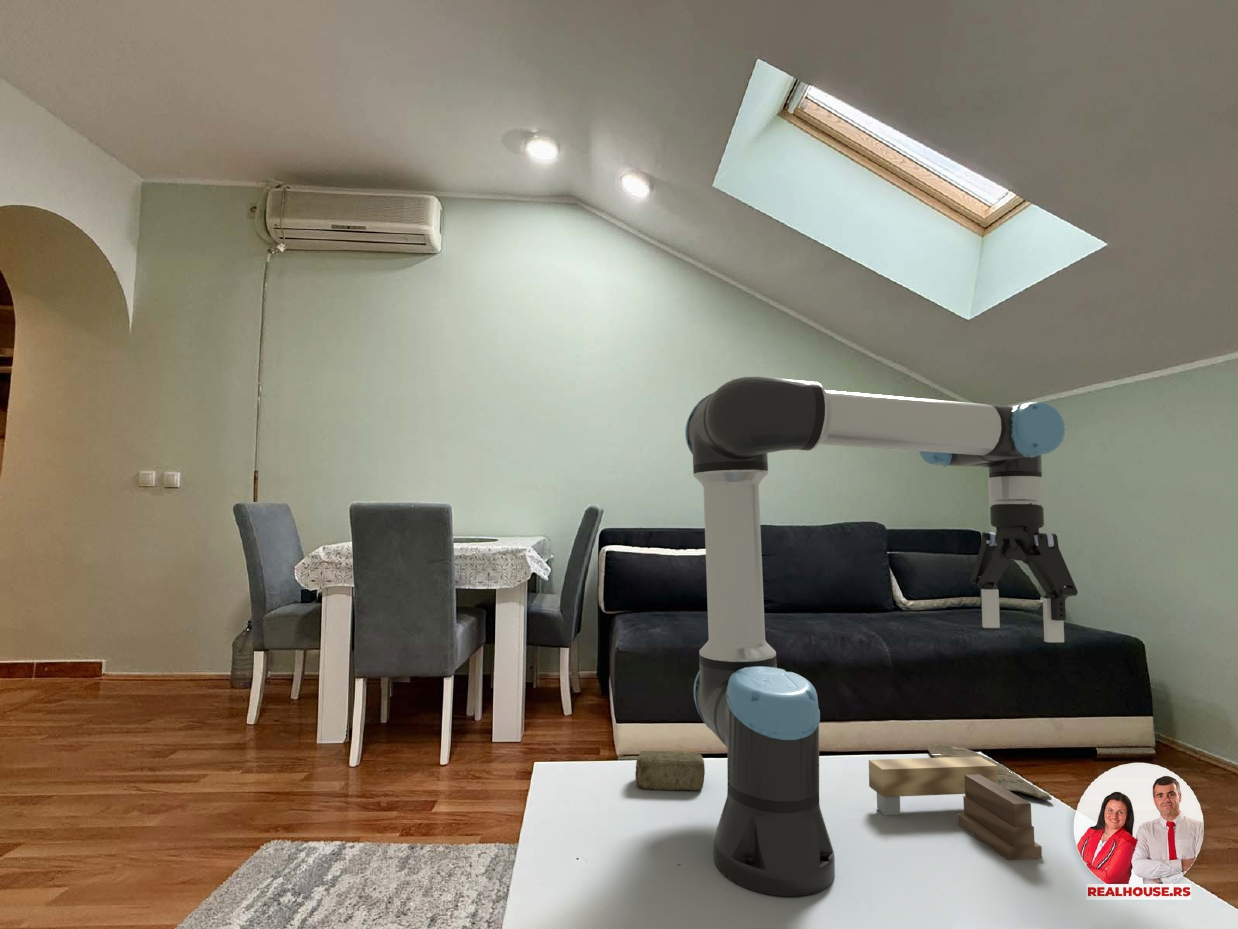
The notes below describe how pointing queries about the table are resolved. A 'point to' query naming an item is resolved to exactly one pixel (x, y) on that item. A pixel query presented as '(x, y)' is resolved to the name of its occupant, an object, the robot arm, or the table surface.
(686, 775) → the stone block
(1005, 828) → the stepped block
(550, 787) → the table surface
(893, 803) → the gray blocks
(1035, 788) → the stone tool
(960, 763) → the brass bar
